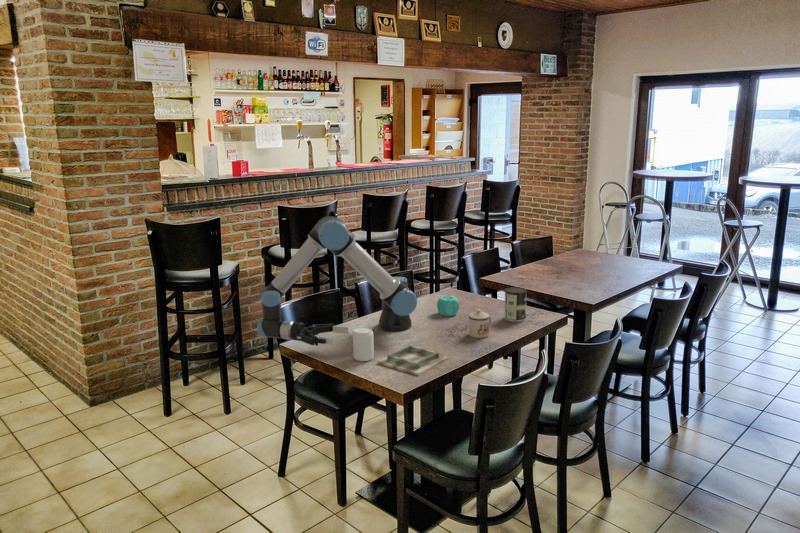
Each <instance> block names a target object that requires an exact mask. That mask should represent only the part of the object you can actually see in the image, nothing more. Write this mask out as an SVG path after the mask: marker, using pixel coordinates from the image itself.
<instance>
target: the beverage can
mask: <svg viewBox="0 0 800 533" xmlns="http://www.w3.org/2000/svg"><path fill="white" fill-rule="evenodd" d="M374 344H375V343H374V331H373V329H372V328H371V327H367V326H361V327H356V328H354V329H353V332H352V350H353V351H352V352H353V359H354V360H356V361H358V362H368V361H371V360H373V358H375V350H374V348H375V346H374Z"/></svg>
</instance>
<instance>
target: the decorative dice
mask: <svg viewBox="0 0 800 533" xmlns="http://www.w3.org/2000/svg"><path fill="white" fill-rule="evenodd" d="M436 303H437V304H436V308H437V309H436V310H437V312H438V313H439V315H441V316H443V317H453V316H456V315H457V313H459V310H460V303H459V300H458V298H457V297H456V296H453V295H443V296H441V297H440V298H438V300H437V302H436Z"/></svg>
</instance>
